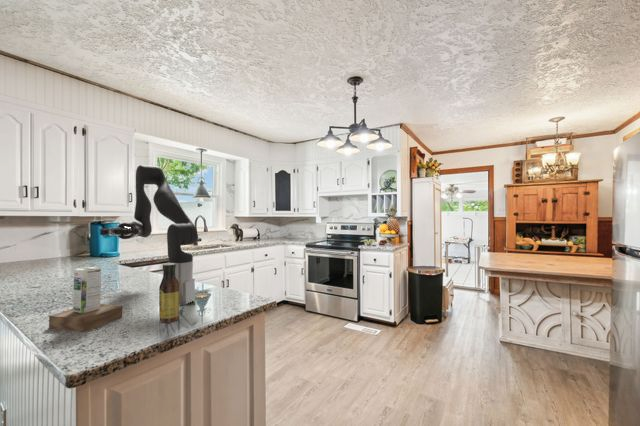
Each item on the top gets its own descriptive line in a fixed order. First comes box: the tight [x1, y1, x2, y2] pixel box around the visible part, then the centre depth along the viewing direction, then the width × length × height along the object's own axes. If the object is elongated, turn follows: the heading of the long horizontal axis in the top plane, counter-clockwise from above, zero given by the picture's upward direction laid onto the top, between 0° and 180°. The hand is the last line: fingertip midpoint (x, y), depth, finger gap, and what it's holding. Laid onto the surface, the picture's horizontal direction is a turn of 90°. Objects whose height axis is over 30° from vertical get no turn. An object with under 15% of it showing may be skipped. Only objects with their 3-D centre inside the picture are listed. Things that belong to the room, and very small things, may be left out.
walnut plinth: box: [48, 303, 123, 332], centre depth 102 cm, size 14×14×4 cm
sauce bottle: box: [158, 262, 180, 323], centre depth 104 cm, size 6×6×20 cm
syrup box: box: [72, 266, 102, 314], centre depth 102 cm, size 6×6×14 cm
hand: (114, 232), depth 125 cm, fingers open, 8 cm apart
